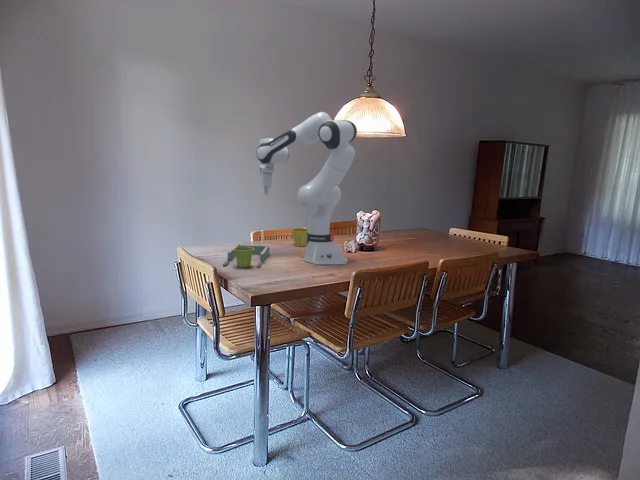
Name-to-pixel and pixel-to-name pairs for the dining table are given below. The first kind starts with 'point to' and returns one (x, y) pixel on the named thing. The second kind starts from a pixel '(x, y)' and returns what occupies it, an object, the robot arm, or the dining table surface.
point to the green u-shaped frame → (258, 250)
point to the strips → (228, 263)
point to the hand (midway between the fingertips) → (266, 194)
